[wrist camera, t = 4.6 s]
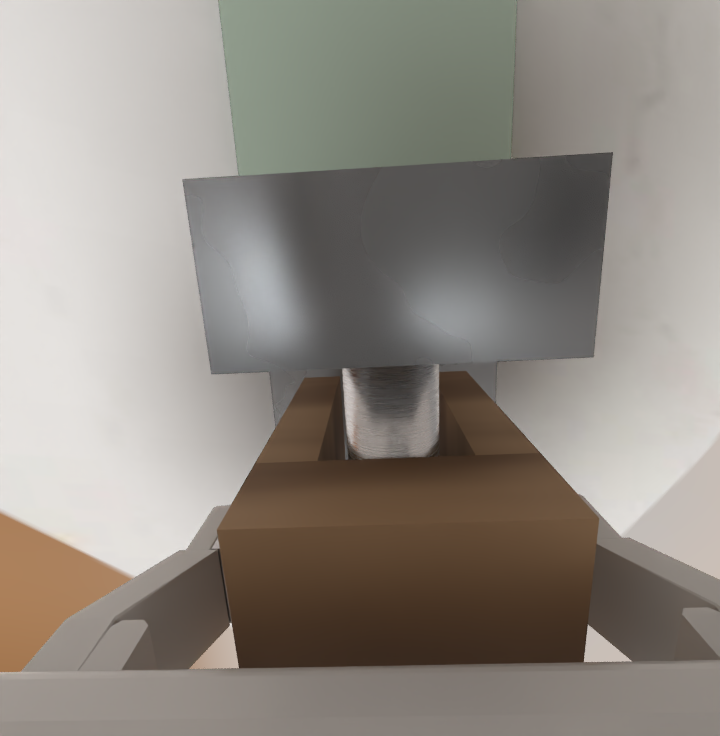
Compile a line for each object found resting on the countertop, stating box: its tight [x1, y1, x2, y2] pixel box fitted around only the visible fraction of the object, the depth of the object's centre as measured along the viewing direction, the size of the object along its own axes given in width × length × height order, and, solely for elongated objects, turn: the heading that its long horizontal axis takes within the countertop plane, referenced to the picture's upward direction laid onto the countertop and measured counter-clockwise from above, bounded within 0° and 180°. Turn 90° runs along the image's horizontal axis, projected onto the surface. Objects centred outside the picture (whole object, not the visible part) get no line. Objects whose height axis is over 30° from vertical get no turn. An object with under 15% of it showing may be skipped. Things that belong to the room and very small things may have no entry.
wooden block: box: [217, 371, 599, 668], centre depth 10 cm, size 5×5×8 cm
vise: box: [182, 152, 613, 460], centre depth 14 cm, size 16×10×15 cm, turn 3°
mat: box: [218, 0, 517, 176], centre depth 17 cm, size 12×12×1 cm
